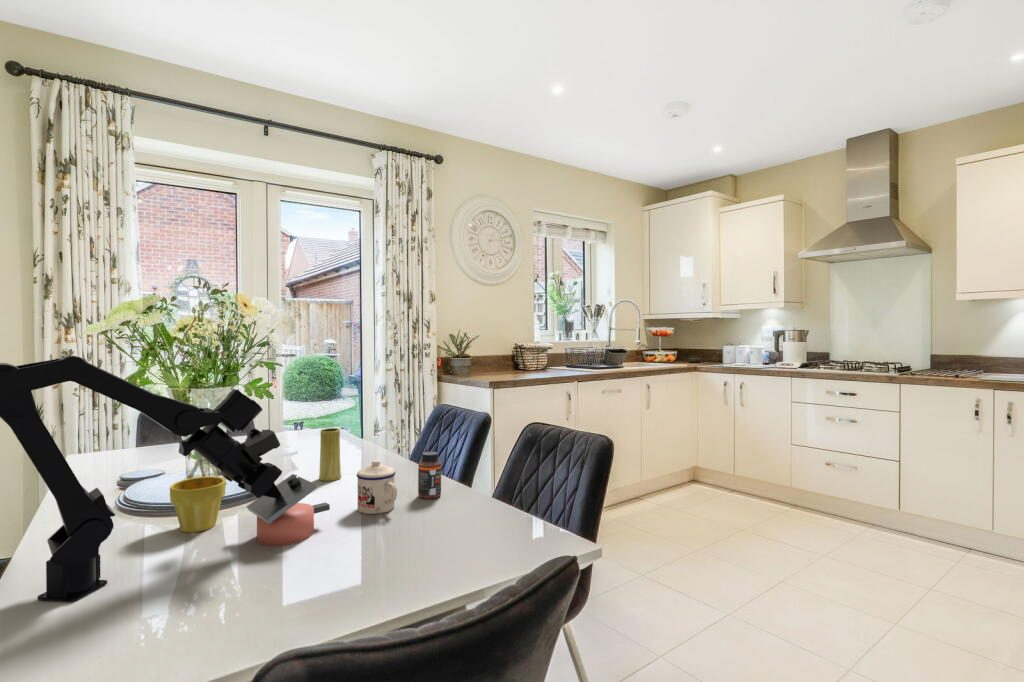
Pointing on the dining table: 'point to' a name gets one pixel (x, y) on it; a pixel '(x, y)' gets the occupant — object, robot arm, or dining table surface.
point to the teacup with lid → (376, 488)
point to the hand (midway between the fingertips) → (279, 496)
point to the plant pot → (197, 502)
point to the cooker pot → (290, 525)
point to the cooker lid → (282, 498)
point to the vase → (330, 455)
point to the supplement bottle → (429, 476)
